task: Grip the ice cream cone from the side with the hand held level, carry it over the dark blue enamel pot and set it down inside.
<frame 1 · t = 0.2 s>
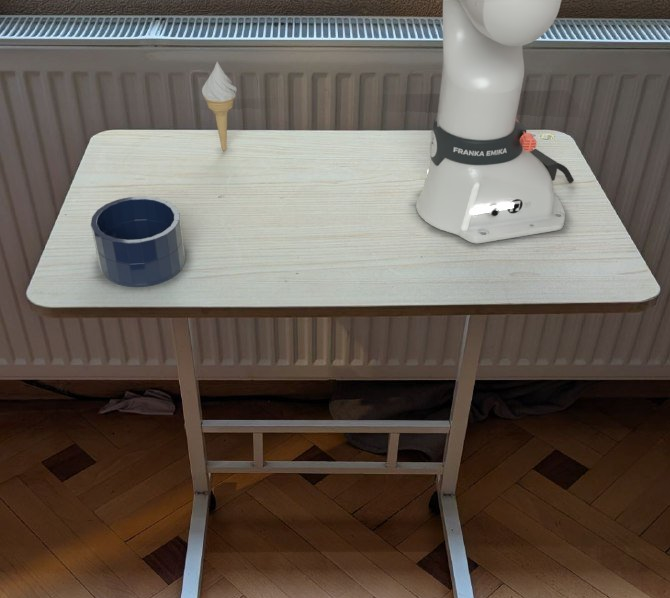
pot: (142, 262, 116), on the table
ice cream cone: (223, 151, 140), on the table
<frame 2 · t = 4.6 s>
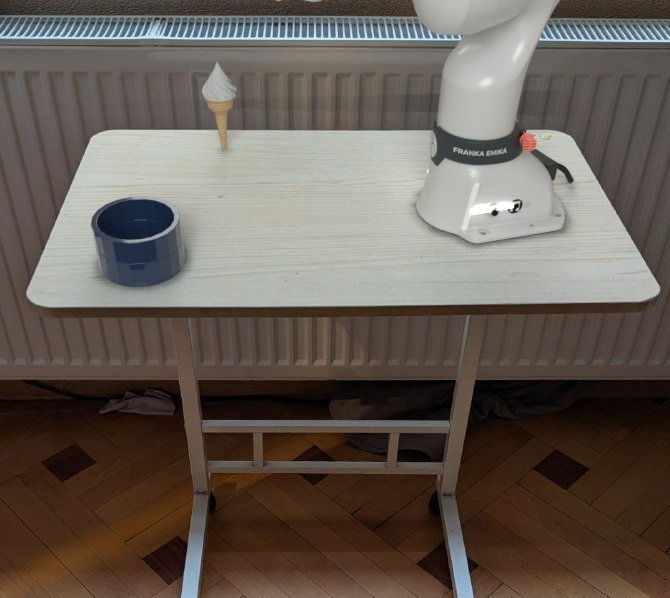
nothing on the table moved.
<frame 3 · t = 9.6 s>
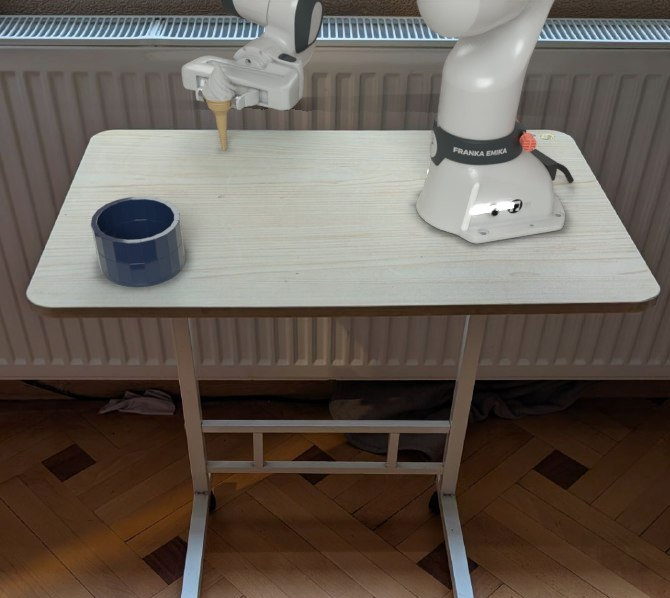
hand: (217, 100, 133), 9 cm above the table, tool horizontal, fingers closed on ice cream cone, 5 cm apart
ice cream cone: (223, 151, 140), on the table, touching gripper
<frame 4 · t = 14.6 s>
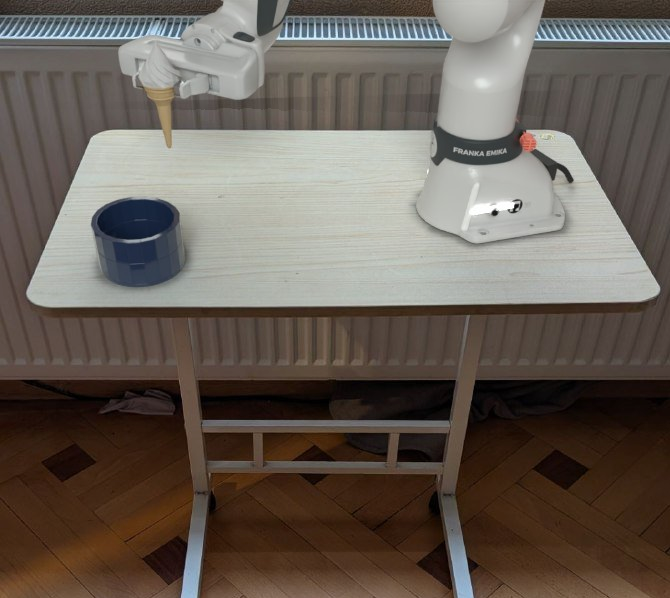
hand: (157, 88, 111), 20 cm above the table, tool horizontal, fingers closed on ice cream cone, 5 cm apart
ice cream cone: (169, 149, 118), point 11 cm above the table, touching gripper
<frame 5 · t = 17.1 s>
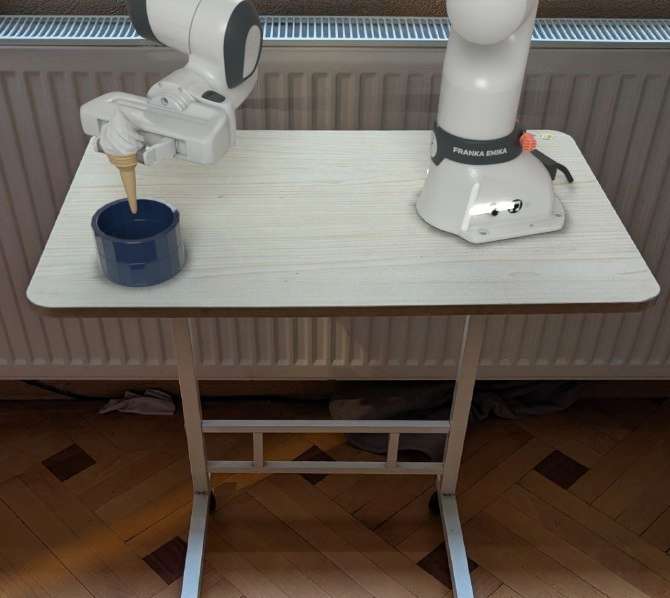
hand: (120, 153, 104), 17 cm above the table, tool horizontal, fingers closed on ice cream cone, 5 cm apart
ice cream cone: (134, 214, 111), point 8 cm above the table, touching gripper
when the fingers open (10 cm above the table, at t = 19.6 s): ice cream cone stays where it is, resting on pot.
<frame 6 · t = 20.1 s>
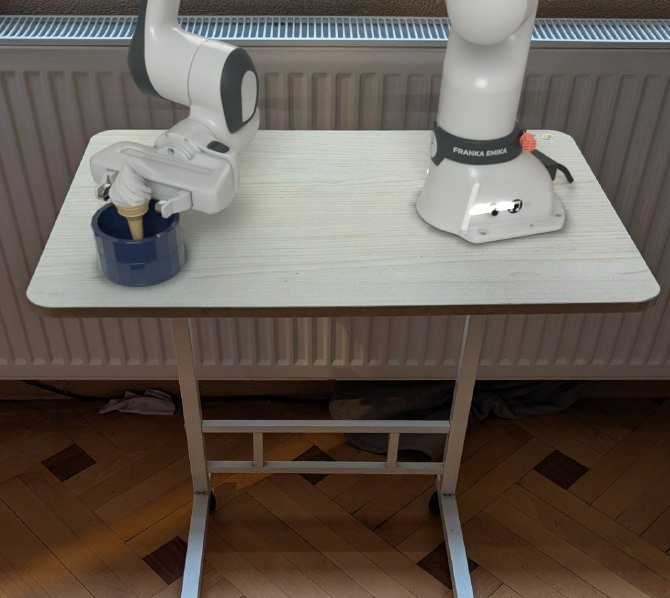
hand: (129, 203, 108), 10 cm above the table, tool horizontal, fingers open, 8 cm apart
ice cream cone: (141, 260, 116), resting on pot
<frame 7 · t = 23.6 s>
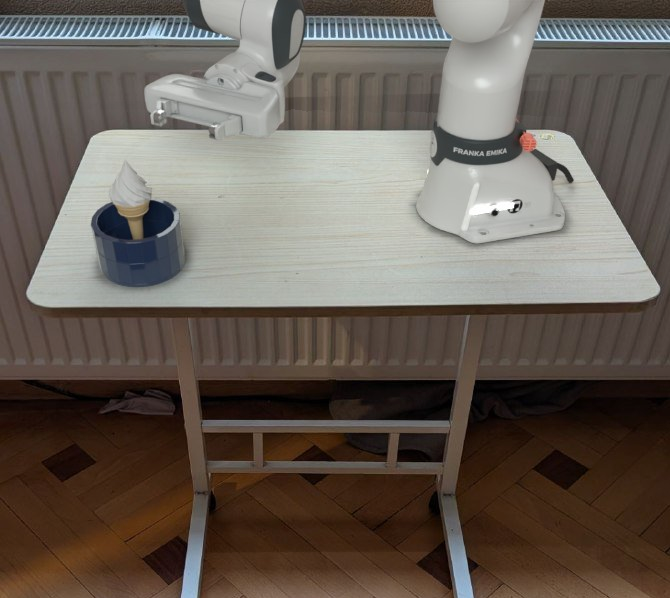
hand: (183, 127, 115), 14 cm above the table, tool horizontal, fingers open, 8 cm apart
nothing on the table moved.
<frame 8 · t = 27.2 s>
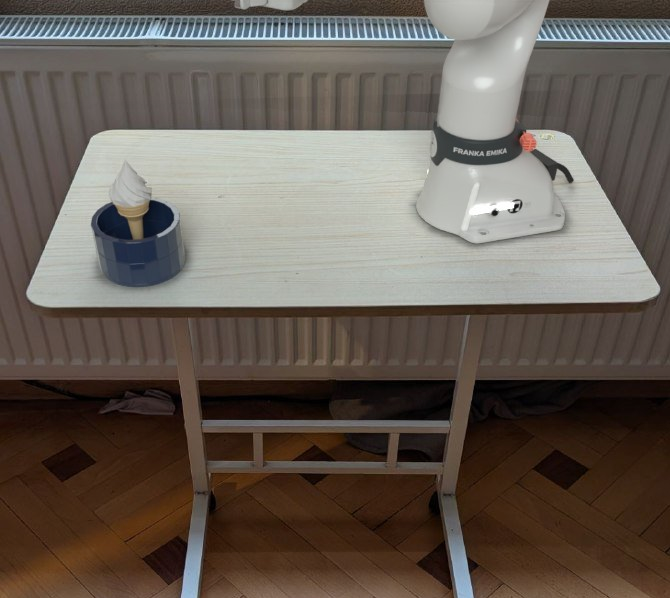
nothing on the table moved.
at the end: ice cream cone inside the target area in the pot (0.2 cm from its centre), point 0.3 cm above the pot's base; the gripper is holding nothing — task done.
